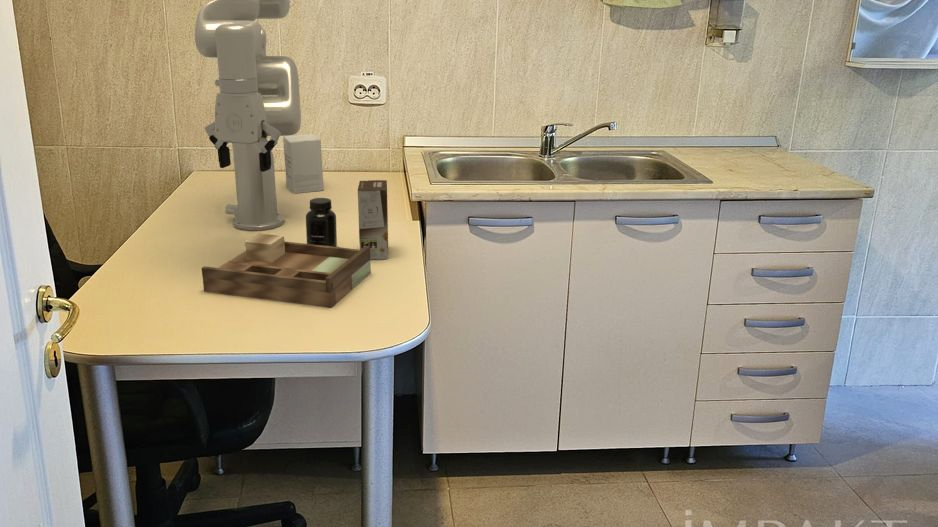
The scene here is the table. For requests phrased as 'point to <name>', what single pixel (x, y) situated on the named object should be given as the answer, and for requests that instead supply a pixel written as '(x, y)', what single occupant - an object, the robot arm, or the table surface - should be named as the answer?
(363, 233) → the coffee box
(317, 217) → the supplement bottle
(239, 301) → the table surface
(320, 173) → the supplement box
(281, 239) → the maple block
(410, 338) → the table surface
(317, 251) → the box
